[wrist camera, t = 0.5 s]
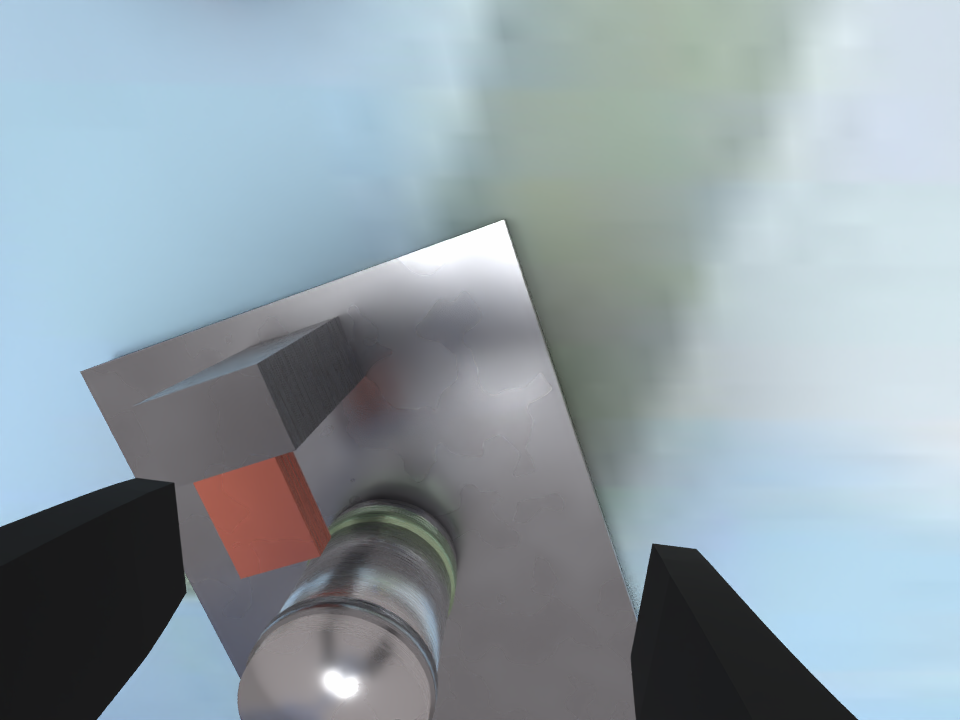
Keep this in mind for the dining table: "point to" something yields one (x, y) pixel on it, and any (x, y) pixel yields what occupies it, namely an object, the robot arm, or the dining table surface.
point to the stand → (393, 468)
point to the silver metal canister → (359, 623)
